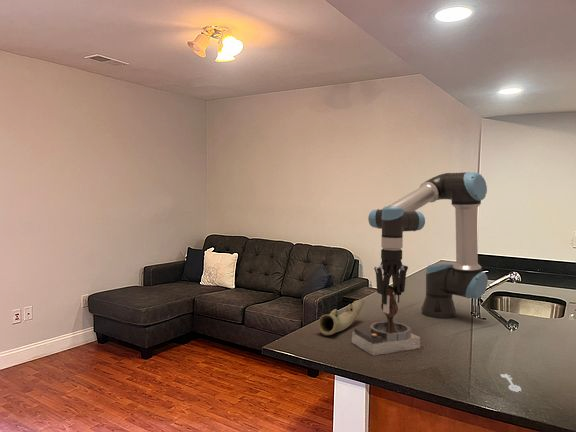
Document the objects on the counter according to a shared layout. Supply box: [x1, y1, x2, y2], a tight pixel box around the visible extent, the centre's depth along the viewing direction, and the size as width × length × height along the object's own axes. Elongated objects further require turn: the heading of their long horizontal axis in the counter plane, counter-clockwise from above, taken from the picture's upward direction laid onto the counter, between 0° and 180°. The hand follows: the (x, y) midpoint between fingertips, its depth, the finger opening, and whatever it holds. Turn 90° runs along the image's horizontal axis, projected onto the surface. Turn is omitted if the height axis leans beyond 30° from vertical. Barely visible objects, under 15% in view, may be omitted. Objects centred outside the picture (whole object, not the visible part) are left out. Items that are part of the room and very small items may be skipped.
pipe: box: [317, 299, 365, 336], centre depth 181 cm, size 28×8×10 cm, turn 147°
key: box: [500, 373, 522, 393], centre depth 130 cm, size 12×1×3 cm
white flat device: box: [351, 320, 421, 357], centre depth 161 cm, size 20×14×6 cm
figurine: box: [380, 285, 399, 333], centre depth 162 cm, size 7×5×18 cm
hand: (390, 312), depth 161 cm, fingers open, 3 cm apart
